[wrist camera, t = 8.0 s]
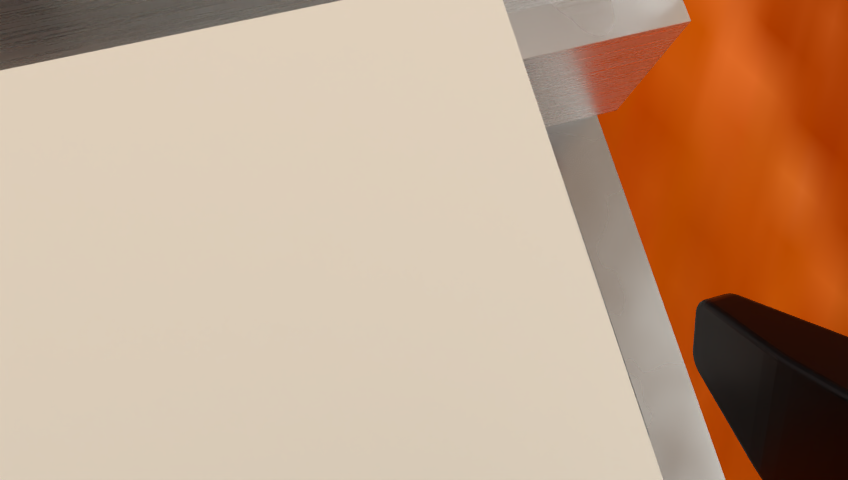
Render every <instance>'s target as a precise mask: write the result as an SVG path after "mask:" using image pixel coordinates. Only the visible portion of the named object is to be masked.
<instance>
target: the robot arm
mask: <svg viewBox="0 0 848 480" xmlns="http://www.w3.org/2000/svg"><path fill="white" fill-rule="evenodd" d="M693 356H694V361H695V364H696V367H697V369H698V371H699V373H700V375H701V376H702V378H703V380H704V382H705V383H706V385H707V387H708V389H709V390H710V392H711V394H712V395H713V397H714V399H715V401H716V402H717V404H718V406H719V408H720V409H721V411H722V413H723V414H724V416H725V418H726V420H727V421H728V423H729V425H730V427H731V428H732V430H733V432H734V433H735V435H736V437H737V439H738V440H739V442H740V444H741V446H742V447H743V449H744V451H745V452H746V454H747V456H748V458H749V459H750V461H751V462H752V464H753V466H754V467H755V469H756V471H757V472H758V474H759V475H760V477H761V478H762V480H848V337H847V336H844V335H842V334H839V333H836V332H834V331H831V330H829V329H826V328H823V327H821V326H818V325H815V324H813V323H810V322H807V321H805V320H802V319H800V318H797V317H794V316H792V315H789V314H786V313H784V312H781V311H779V310H776V309H773V308H771V307H768V306H765V305H763V304H760V303H758V302H755V301H752V300H750V299H747V298H744V297H742V296H739V295H736V294H731V293H730V294H723V295H720V296H716V297H713V298H709V299H705V300H703V301H701V302H700V303H699V305H698V307H697V310H696V319H695V332H694V345H693Z"/></svg>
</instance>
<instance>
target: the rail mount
mask: <svg viewBox="0 0 848 480" xmlns="http://www.w3.org/2000/svg"><path fill="white" fill-rule="evenodd" d="M336 1H340V0H0V70H5V69H10V68H15V67H20V66H25V65H30V64H34V63H39V62H44V61H49V60H54V59H59V58H64V57H68V56H73V55H78V54H83V53H88V52H93V51H98V50H102V49H107V48H112V47H117V46H122V45H127V44H132V43H136V42H141V41H146V40H151V39H156V38H161V37H166V36H170V35H175V34H180V33H185V32H190V31H195V30H200V29H204V28H209V27H214V26H219V25H224V24H229V23H234V22H238V21H243V20H248V19H253V18H258V17H263V16H268V15H272V14H277V13H282V12H287V11H292V10H297V9H302V8H306V7H311V6H316V5H321V4H326V3H331V2H336ZM503 2H504V5H505V8H506V11H507V14H508V17H509V20H510V23H511V26H512V29H513V32H514V35H515V38H516V41H517V44H518V47H519V50H520V53H521V56H522V59H523V62H524V65H525V68H526V71H527V74H528V77H529V80H530V83H531V86H532V89H533V92H534V95H535V98H536V101H537V104H538V107H539V110H540V113H541V116H542V119H543V122H544V125H545V128H546V131H547V134H548V137H549V140H550V143H551V146H552V149H553V152H554V155H555V158H556V161H557V164H558V167H559V170H560V173H561V176H562V179H563V182H564V185H565V188H566V191H567V194H568V197H569V200H570V203H571V206H572V209H573V212H574V215H575V218H576V221H577V224H578V227H579V230H580V233H581V236H582V239H583V241H584V244H585V247H586V250H587V253H588V256H589V259H590V262H591V265H592V268H593V271H594V274H595V277H596V280H597V283H598V286H599V289H600V292H601V295H602V298H603V301H604V304H605V307H606V310H607V313H608V316H609V319H610V322H611V325H612V328H613V331H614V334H615V337H616V340H617V343H618V346H619V349H620V352H621V355H622V358H623V361H624V364H625V367H626V370H627V373H628V376H629V379H630V382H631V385H632V388H633V391H634V394H635V397H636V400H637V403H638V406H639V409H640V412H641V415H642V418H643V421H644V424H645V427H646V430H647V433H648V436H649V439H650V442H651V445H652V448H653V451H654V454H655V457H656V460H657V463H658V466H659V469H660V472H661V475H662V478H663V480H725V477H724V475H723V472H722V469H721V466H720V463H719V460H718V458H717V455H716V452H715V449H714V446H713V443H712V441H711V438H710V435H709V432H708V429H707V426H706V424H705V421H704V418H703V415H702V412H701V409H700V407H699V404H698V401H697V398H696V395H695V392H694V390H693V387H692V384H691V381H690V378H689V375H688V373H687V370H686V367H685V364H684V361H683V358H682V356H681V353H680V350H679V347H678V344H677V341H676V339H675V336H674V333H673V330H672V327H671V324H670V322H669V319H668V316H667V313H666V310H665V307H664V305H663V302H662V299H661V296H660V293H659V290H658V288H657V285H656V282H655V279H654V276H653V273H652V271H651V268H650V265H649V262H648V259H647V256H646V254H645V251H644V248H643V245H642V242H641V239H640V237H639V234H638V231H637V228H636V225H635V222H634V220H633V217H632V214H631V211H630V208H629V205H628V203H627V200H626V197H625V194H624V191H623V188H622V186H621V183H620V180H619V177H618V174H617V171H616V169H615V166H614V163H613V160H612V157H611V154H610V152H609V149H608V146H607V143H606V140H605V137H604V135H603V132H602V129H601V126H600V123H599V120H598V118H597V115H599V114H603V113H607V112H611V111H616V110H617V109H618V108H619V107H620V105H621V104H622V103H623V102H624V101H625V99H626V98H627V97H628V96H629V95H630V93H631V92H632V91H633V90H634V89H635V87H636V86H637V85H638V84H639V83H640V81H641V80H642V79H643V78H644V77H645V75H646V74H647V73H648V72H649V71H650V69H651V68H652V67H653V66H654V65H655V63H656V62H657V61H658V60H659V59H660V57H661V56H662V55H663V54H664V53H665V51H666V50H667V49H668V48H669V47H670V45H671V44H672V43H673V42H674V41H675V39H676V38H677V37H678V36H679V35H680V33H681V32H682V31H683V30H684V29H685V27H686V26H687V25H688V24H689V23H690V21H691V20H690V18H689V15H688V12H687V10H686V7H685V5H684V2H683V0H503Z"/></svg>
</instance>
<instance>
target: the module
mask: <svg viewBox="0 0 848 480" xmlns="http://www.w3.org/2000/svg"><path fill="white" fill-rule="evenodd" d="M0 480H663V478H662V475H661V472H660V469H659V466H658V463H657V460H656V457H655V454H654V451H653V448H652V445H651V442H650V439H649V436H648V433H647V430H646V427H645V424H644V421H643V418H642V415H641V412H640V409H639V406H638V403H637V400H636V397H635V394H634V391H633V388H632V385H631V382H630V379H629V376H628V373H627V370H626V367H625V364H624V361H623V358H622V355H621V352H620V349H619V346H618V343H617V340H616V337H615V334H614V331H613V328H612V325H611V322H610V319H609V316H608V313H607V310H606V307H605V304H604V301H603V298H602V295H601V292H600V289H599V286H598V283H597V280H596V277H595V274H594V271H593V268H592V265H591V262H590V259H589V256H588V253H587V250H586V247H585V244H584V241H583V239H582V236H581V233H580V230H579V227H578V224H577V221H576V218H575V215H574V212H573V209H572V206H571V203H570V200H569V197H568V194H567V191H566V188H565V185H564V182H563V179H562V176H561V173H560V170H559V167H558V164H557V161H556V158H555V155H554V152H553V149H552V146H551V143H550V140H549V137H548V134H547V131H546V128H545V125H544V122H543V119H542V116H541V113H540V110H539V107H538V104H537V101H536V98H535V95H534V92H533V89H532V86H531V83H530V80H529V77H528V74H527V71H526V68H525V65H524V62H523V59H522V56H521V53H520V50H519V47H518V44H517V41H516V38H515V35H514V32H513V29H512V26H511V23H510V20H509V17H508V14H507V11H506V8H505V5H504V2H503V0H340V1H336V2H331V3H326V4H321V5H316V6H311V7H306V8H302V9H297V10H292V11H287V12H282V13H277V14H272V15H268V16H263V17H258V18H253V19H248V20H243V21H238V22H234V23H229V24H224V25H219V26H214V27H209V28H204V29H200V30H195V31H190V32H185V33H180V34H175V35H170V36H166V37H161V38H156V39H151V40H146V41H141V42H136V43H132V44H127V45H122V46H117V47H112V48H107V49H102V50H98V51H93V52H88V53H83V54H78V55H73V56H68V57H64V58H59V59H54V60H49V61H44V62H39V63H34V64H30V65H25V66H20V67H15V68H10V69H5V70H0Z"/></svg>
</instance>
